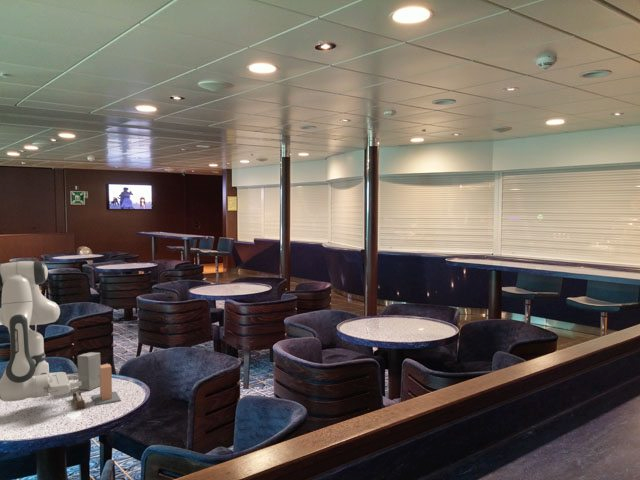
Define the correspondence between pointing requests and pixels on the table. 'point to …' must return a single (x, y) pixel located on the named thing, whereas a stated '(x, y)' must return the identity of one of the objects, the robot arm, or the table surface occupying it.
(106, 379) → the orange rectangular block
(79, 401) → the bar
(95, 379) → the skincare box
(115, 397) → the mat
